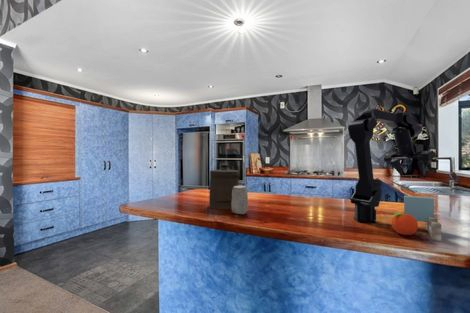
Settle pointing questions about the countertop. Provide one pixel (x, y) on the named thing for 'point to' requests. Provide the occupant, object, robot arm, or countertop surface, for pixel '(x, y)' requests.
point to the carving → (239, 199)
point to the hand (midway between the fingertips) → (412, 174)
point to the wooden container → (222, 187)
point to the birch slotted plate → (434, 228)
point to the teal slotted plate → (419, 208)
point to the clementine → (404, 223)
